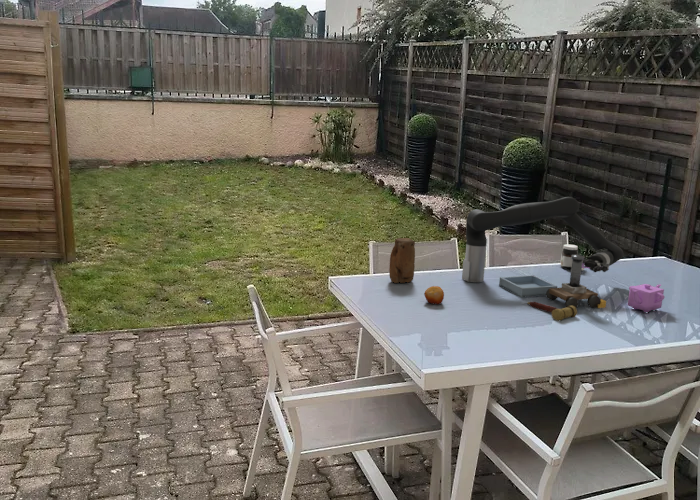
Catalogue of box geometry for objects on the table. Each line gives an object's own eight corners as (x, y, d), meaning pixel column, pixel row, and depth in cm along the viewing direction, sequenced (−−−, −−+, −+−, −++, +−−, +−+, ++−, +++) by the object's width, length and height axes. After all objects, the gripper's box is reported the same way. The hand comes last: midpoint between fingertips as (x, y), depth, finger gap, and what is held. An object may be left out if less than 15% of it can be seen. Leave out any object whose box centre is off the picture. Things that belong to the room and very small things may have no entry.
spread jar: (558, 264, 332) (561, 243, 329) (581, 266, 330) (583, 244, 327) (562, 270, 320) (565, 248, 317) (586, 272, 319) (589, 250, 316)
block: (405, 278, 297) (407, 236, 292) (415, 282, 291) (417, 239, 286) (386, 281, 291) (388, 238, 287) (396, 285, 285) (398, 242, 280)
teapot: (623, 302, 272) (627, 278, 269) (657, 305, 269) (661, 281, 266) (629, 313, 258) (633, 288, 255) (665, 317, 254) (669, 291, 252)
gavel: (519, 299, 262) (535, 295, 267) (519, 310, 262) (535, 306, 268) (561, 310, 244) (577, 306, 250) (560, 322, 245) (577, 318, 250)
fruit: (447, 297, 265) (445, 284, 260) (442, 311, 260) (440, 298, 255) (429, 294, 269) (427, 281, 263) (423, 308, 264) (421, 295, 258)
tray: (521, 297, 273) (522, 288, 272) (499, 285, 290) (499, 277, 289) (556, 294, 279) (557, 286, 278) (532, 283, 296) (533, 275, 295)
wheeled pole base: (567, 310, 258) (569, 291, 257) (545, 299, 272) (547, 281, 270) (599, 307, 264) (602, 289, 262) (576, 296, 277) (578, 279, 275)
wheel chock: (598, 308, 263) (599, 301, 262) (593, 305, 266) (594, 299, 265) (605, 307, 264) (606, 301, 263) (600, 305, 267) (601, 298, 266)
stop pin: (572, 293, 263) (576, 257, 260) (564, 289, 268) (568, 254, 265) (582, 292, 265) (587, 257, 261) (574, 288, 270) (579, 254, 266)
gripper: (583, 250, 287) (569, 256, 275) (615, 256, 278) (602, 262, 266) (581, 266, 289) (567, 272, 277) (613, 272, 280) (600, 279, 268)
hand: (584, 267), depth 272 cm, fingers open, 8 cm apart
